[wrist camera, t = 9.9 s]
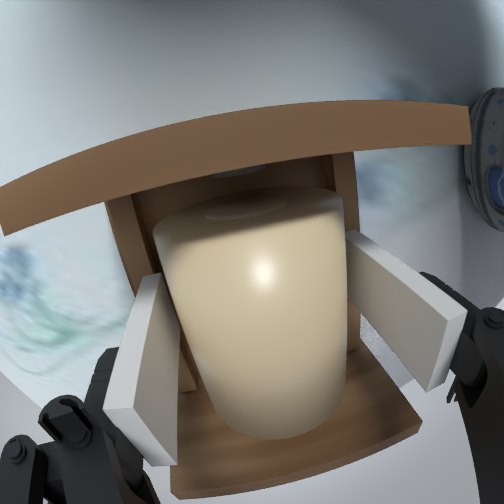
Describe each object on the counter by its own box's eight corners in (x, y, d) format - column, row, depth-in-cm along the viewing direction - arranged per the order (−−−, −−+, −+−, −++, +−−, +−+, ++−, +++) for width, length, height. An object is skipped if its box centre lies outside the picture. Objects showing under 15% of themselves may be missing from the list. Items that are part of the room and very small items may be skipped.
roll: (197, 193, 13) (112, 247, 7) (337, 177, 11) (350, 226, 6) (233, 343, 16) (194, 431, 10) (344, 343, 14) (342, 443, 9)
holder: (102, 161, 12) (-8, 191, 4) (337, 116, 13) (467, 106, 5) (178, 382, 16) (179, 499, 9) (351, 339, 17) (417, 432, 10)
